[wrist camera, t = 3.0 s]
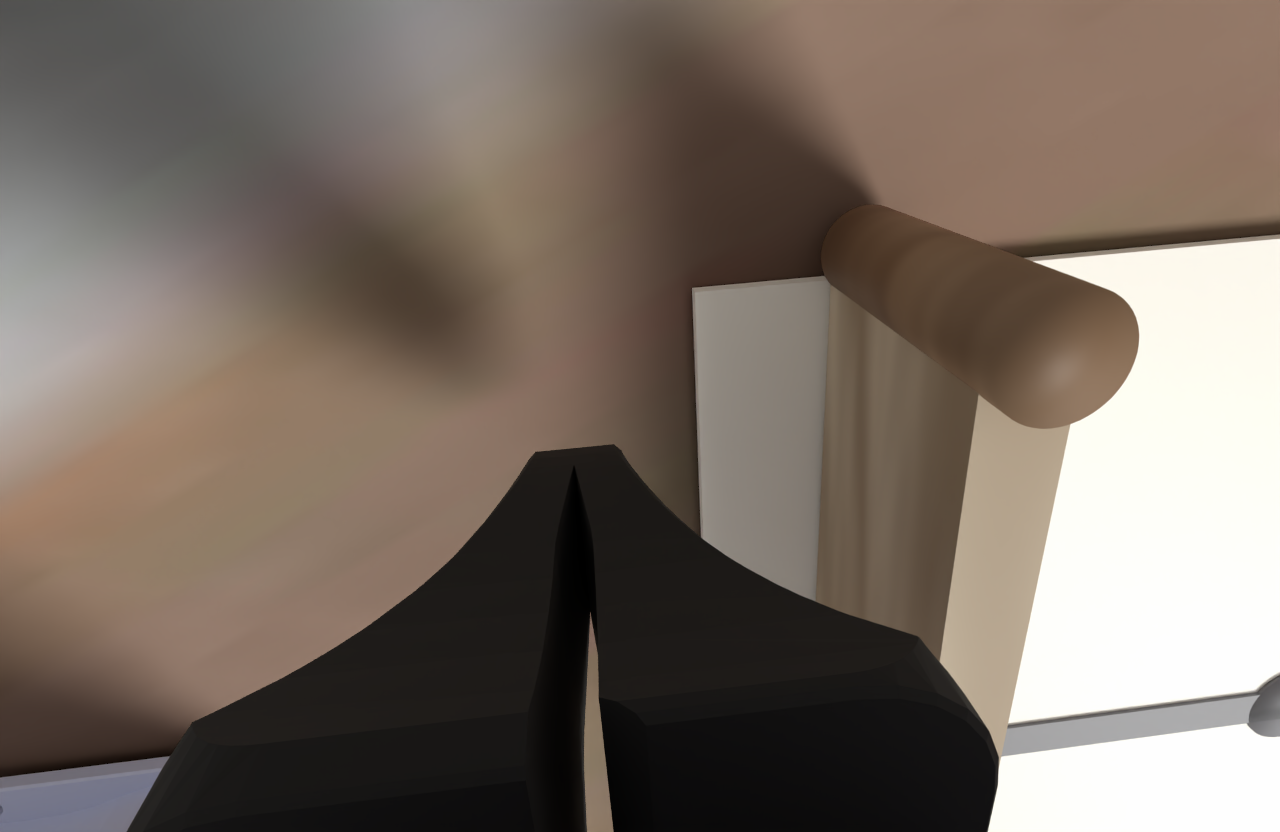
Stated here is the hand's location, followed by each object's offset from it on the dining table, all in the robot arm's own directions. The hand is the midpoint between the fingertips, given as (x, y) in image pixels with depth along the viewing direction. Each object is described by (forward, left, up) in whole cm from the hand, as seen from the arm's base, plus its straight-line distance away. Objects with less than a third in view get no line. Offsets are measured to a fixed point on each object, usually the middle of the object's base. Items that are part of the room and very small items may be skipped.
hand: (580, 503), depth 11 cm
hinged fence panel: (+5, -2, -2) cm, 6 cm away
